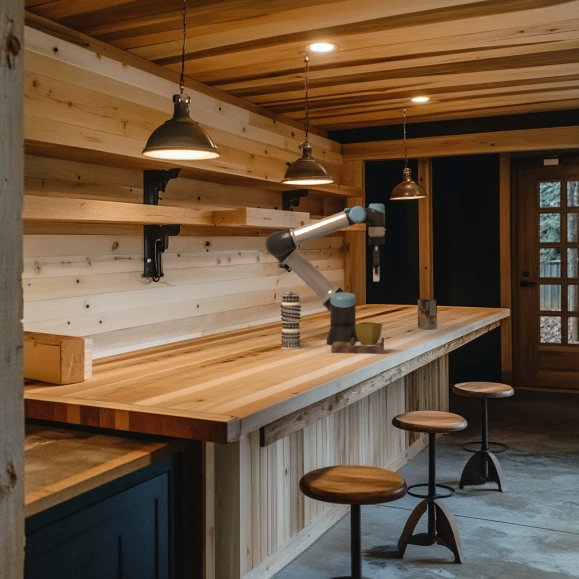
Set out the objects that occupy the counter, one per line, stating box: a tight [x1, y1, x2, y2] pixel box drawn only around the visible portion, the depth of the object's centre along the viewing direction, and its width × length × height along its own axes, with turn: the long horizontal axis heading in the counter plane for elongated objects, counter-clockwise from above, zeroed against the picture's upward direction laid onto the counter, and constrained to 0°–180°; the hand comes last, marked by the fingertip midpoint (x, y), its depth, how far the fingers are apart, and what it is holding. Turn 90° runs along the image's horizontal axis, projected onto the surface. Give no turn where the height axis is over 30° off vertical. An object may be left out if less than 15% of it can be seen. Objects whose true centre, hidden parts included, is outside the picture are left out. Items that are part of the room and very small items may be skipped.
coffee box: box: [417, 298, 438, 330], centre depth 407 cm, size 9×6×16 cm
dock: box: [330, 337, 385, 355], centre depth 319 cm, size 22×14×5 cm, turn 82°
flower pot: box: [355, 321, 383, 345], centre depth 317 cm, size 9×9×9 cm
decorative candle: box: [280, 291, 302, 350], centre depth 327 cm, size 9×9×25 cm
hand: (376, 280), depth 354 cm, fingers open, 13 cm apart
